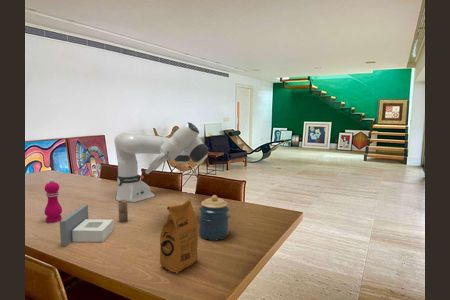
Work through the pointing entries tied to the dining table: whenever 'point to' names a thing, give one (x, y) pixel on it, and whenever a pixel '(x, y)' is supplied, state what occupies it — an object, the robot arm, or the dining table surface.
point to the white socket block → (92, 230)
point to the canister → (213, 218)
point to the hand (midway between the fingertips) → (148, 170)
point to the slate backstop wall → (72, 224)
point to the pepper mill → (52, 202)
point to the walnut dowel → (123, 211)
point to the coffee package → (179, 238)
